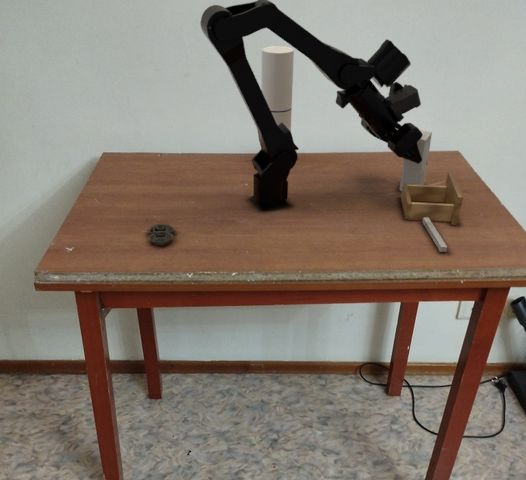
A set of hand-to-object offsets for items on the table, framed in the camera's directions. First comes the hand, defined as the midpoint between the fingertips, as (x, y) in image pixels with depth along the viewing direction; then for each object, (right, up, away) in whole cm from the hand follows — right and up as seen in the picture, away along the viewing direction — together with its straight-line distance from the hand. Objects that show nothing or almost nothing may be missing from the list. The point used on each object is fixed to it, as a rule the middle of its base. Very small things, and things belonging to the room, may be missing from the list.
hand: (410, 154), depth 129 cm
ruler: (+1, -21, -13) cm, 25 cm away
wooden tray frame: (+2, -13, -4) cm, 14 cm away
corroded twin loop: (-52, -21, -15) cm, 58 cm away
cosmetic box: (+1, -6, +5) cm, 8 cm away
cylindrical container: (-29, +4, +18) cm, 35 cm away
